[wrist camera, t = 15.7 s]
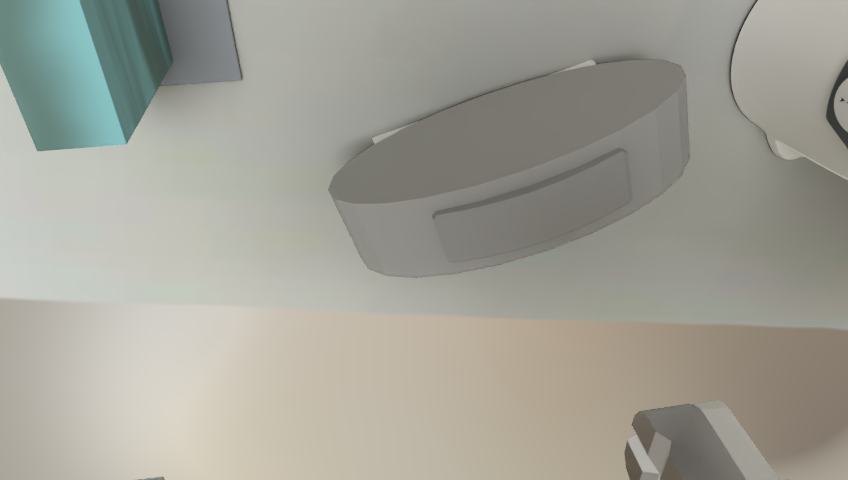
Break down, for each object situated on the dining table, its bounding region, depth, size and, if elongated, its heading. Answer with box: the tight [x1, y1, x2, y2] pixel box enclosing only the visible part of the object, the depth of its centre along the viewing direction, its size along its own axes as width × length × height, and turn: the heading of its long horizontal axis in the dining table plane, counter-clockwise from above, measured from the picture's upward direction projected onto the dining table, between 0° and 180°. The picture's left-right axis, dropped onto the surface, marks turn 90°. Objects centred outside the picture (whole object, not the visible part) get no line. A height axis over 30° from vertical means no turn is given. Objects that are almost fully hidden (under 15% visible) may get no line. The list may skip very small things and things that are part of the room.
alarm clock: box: [328, 59, 690, 278], centre depth 40 cm, size 23×6×13 cm, turn 107°
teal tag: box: [0, 0, 173, 151], centre depth 31 cm, size 4×8×12 cm, turn 1°
